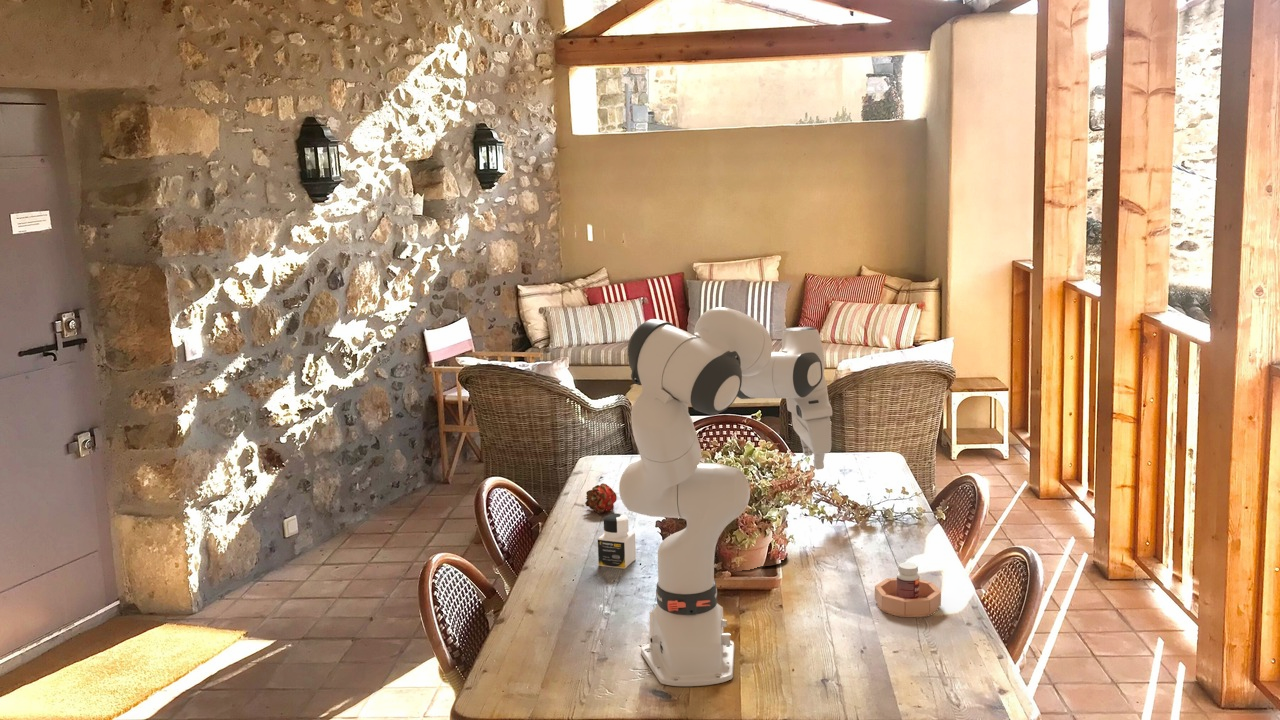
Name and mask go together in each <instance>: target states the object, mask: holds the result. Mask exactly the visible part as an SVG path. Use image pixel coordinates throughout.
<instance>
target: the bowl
mask: <svg viewBox="0 0 1280 720" xmlns="http://www.w3.org/2000/svg"><path fill="white" fill-rule="evenodd" d="M874 600H875V601H876V606H877V608H878V609H879V610H880V609H881V610H880V611H881V612H883V613H885V614H887V613H888V615H890V616H893V615H894V616H893V617H898V616H900V618H904V617H921V618H925V616H926V617H929V616H928V615H930V616H932V615H934V614H935V613H934V612H936V611H937V609H938V610H939V607H941V606H942V591H941V590H940V589H939V588H938V587H937V585H935V584H934V582H932V581H928V580H923V579H920V578H919V598H918V599H903V598H899V597H897V577H892V578H891V577H889V578H885V579H884V580H882V581H880V582H879V583H877V584H875V585H874ZM937 612H938V611H937ZM937 612H936V613H937ZM933 613H934V614H933ZM931 614H932V615H931Z"/></svg>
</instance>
